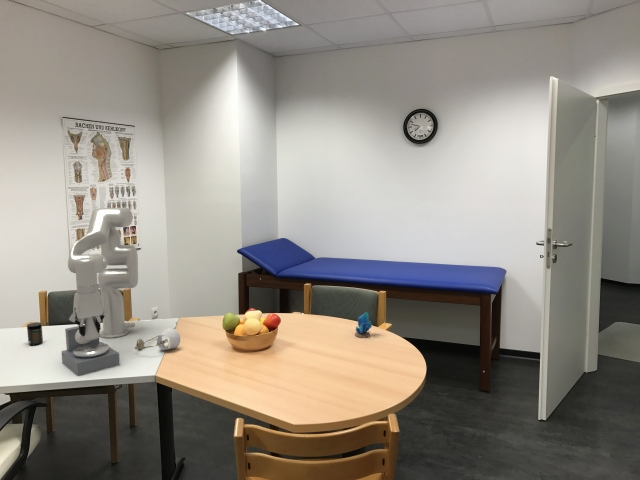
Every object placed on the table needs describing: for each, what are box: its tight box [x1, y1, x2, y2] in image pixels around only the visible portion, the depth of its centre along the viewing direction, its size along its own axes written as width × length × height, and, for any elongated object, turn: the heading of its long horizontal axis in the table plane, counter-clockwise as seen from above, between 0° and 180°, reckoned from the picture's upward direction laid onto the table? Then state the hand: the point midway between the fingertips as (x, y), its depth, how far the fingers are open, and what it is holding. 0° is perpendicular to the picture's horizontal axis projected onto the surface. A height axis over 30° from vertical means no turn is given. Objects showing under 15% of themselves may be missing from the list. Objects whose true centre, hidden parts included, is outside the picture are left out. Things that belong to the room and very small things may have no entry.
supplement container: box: [26, 322, 44, 347], centre depth 228 cm, size 6×6×9 cm
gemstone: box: [354, 311, 373, 339], centre depth 240 cm, size 7×9×12 cm
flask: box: [80, 317, 101, 340], centre depth 202 cm, size 7×7×10 cm
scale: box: [61, 324, 121, 377], centre depth 205 cm, size 16×18×14 cm
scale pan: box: [73, 342, 110, 357], centre depth 204 cm, size 13×13×1 cm
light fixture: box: [134, 321, 181, 351], centre depth 232 cm, size 9×18×40 cm
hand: (90, 333), depth 202 cm, fingers closed on flask, 5 cm apart
